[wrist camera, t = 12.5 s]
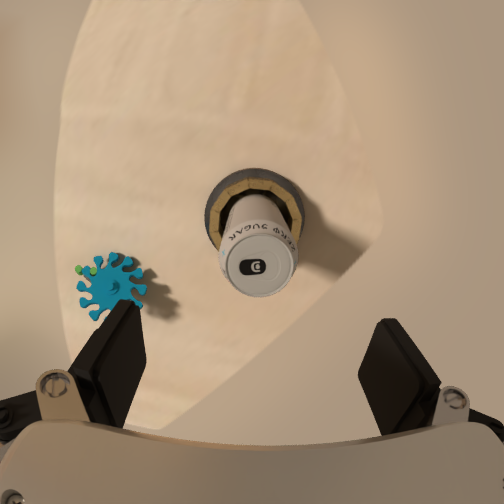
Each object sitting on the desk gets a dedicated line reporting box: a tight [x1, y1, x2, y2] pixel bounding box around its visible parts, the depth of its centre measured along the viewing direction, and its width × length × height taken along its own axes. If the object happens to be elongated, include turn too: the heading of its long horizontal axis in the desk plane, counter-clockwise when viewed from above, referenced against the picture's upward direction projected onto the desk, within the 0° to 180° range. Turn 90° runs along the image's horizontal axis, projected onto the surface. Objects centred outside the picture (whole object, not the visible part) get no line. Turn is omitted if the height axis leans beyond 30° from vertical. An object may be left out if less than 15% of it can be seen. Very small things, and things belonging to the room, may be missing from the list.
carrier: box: [205, 168, 304, 252], centre depth 34 cm, size 12×12×4 cm
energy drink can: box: [219, 194, 298, 297], centre depth 27 cm, size 6×6×15 cm
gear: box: [75, 252, 147, 321], centre depth 36 cm, size 11×6×10 cm
